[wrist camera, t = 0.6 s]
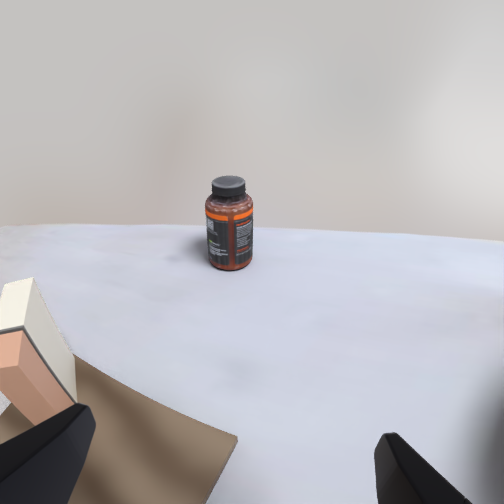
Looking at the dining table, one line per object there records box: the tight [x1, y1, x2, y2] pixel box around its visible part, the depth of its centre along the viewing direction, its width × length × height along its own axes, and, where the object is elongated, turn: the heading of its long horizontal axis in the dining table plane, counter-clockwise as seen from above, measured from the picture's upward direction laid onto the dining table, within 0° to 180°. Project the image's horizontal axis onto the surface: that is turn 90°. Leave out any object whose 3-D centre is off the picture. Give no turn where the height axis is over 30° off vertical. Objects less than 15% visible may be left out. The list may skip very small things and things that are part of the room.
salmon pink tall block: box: [0, 330, 74, 426], centre depth 17 cm, size 3×3×10 cm
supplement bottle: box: [205, 176, 253, 270], centre depth 40 cm, size 6×6×11 cm
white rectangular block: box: [0, 277, 77, 404], centre depth 21 cm, size 6×3×10 cm, turn 23°
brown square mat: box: [0, 353, 238, 504], centre depth 17 cm, size 20×20×1 cm
